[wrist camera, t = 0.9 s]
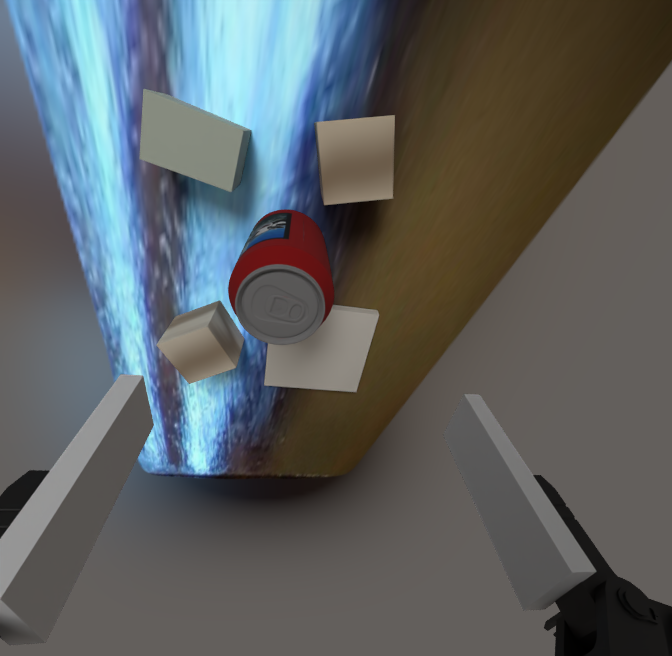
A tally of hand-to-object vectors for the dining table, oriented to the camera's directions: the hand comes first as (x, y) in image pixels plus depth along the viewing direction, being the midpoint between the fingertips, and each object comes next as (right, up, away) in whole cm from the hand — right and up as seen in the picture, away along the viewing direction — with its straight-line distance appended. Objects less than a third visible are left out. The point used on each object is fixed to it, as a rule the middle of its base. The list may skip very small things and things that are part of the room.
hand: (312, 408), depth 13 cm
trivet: (-1, +1, +22) cm, 22 cm away
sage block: (-9, +18, +11) cm, 23 cm away
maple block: (-12, +3, +20) cm, 23 cm away
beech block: (+2, +17, +12) cm, 21 cm away
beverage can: (-3, +11, +16) cm, 19 cm away
